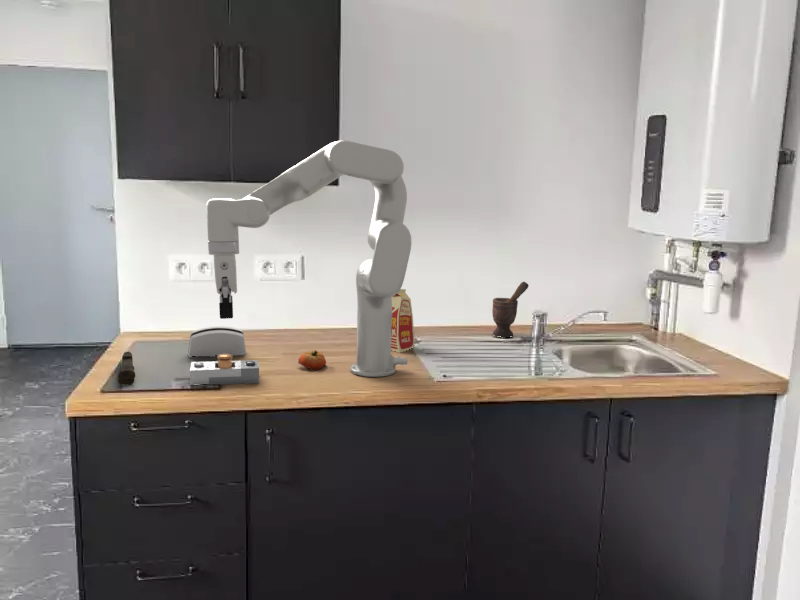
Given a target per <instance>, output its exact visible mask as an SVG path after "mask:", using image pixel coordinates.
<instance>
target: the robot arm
mask: <svg viewBox="0 0 800 600" xmlns="http://www.w3.org/2000/svg"><path fill="white" fill-rule="evenodd" d="M404 168H405V165H404V162H403V159H402V157H401V156H400V155H399V154H398V153H397V152H396V151H393V150H391V149H386V148H382V147H376V146H372V145H368V144H363V143H359V142H355V141H350V140H337V141H333V142H330V143H329V144H327V145H325V146H323V147H322V148H320V149H319V150H317V151H316V152H314V153H312V154H311V155H310V156H308V157H307V158H305V159H303V160H301V161H300V162H298V163H297V164H296V165H295V164H294V165H293V166H292V167H290V168H288V169H287V170H285V171H284V172H282V173H281V174H280V175H278V176H277V177H275V178H274V179H272V180H270V181H269V182H267V183H266V184H264V185H262V186H261V187H259V188H257V189H256V190H254V191H253V192H251V193H249V194H248V195H246V196H245V197H243V198H242V199H233V198H211V199H209V200H208V201H207V202H206V220H207V221H206V223H207V245H208V247H207V248H208V249H207V250H208V255H211V256H213V265H214V266H213V269H214V278H215V279H214V280H215V281H214V282H215V286H216V293H217V294H218V295H219V303H218V305H219V306H218V307H219V319H223V320H225V319H233V318H234V305H233V304H234V302H233V295H232V293H234V294H236V293H238V288H237V287H238V285H237V283H238V282H237V281H238V279H237V276H238V275H237V258H236V255H239V254H240V243H239V242H240V241H239V227H241V228H242V227H243V228H251V229H258V228H261V227H264V226H265V225H266V224H267V223H268V222H269V220H270V217H271V215H273V214H274V213H276V212H278V211H279V210H280V209H283V208H285V207H286V206H289V205H291V204H293V203H296V202H300V201H302V200H303V201H304V200H306V199H307V198H309V197H311V196H312V195H314V194H316V193H317V192H318V191H320V190H322V189H323V188H325V187H326V186H328V185H329V184H331V183H332V182H335V180H338V179H339V178H340V177H341V176H348V177H352V178H356V179H362V180H365V181H366V180H367V181H369V182H370V183H371V185H372V186H373V190H374V195H375V196H374V197H375V198H374V203H373V204H374V205H373V210H372V215H371V219H370V220H371V221H370V225H369V229H368V233H367V243H368V245H369V247H370V248H371V250H373V256H372V257H370V258H367V259H365V260H364V261H362V262H361V263H360V265H359V266H358V268H357V270H356V274H355V275H356V276H355V285H356V286H355V287H356V294H357V297H356V298H357V316H356V317H357V318H356V358H355V359H356V360H355V361H356V362H355V363H353V364H352V365H351V366H350V372H351V373H352V374H354V375H357V376H361V377H368V378H369V377H370V378H371V377H373V378H374V377H375V378H377V377H379V378H380V377H388V376H392V375H393V374H395V373H396V371H397V365H401V366H405V365H408V362H409V361H408V358H407V357H401V356H393V355H392V351H391V328H392V297H393V296H394V295H396V294H397V293H398V292H399V290H400V289H402V286H403V284H404V281H405V278H406V272H407V270H408V269H407V267H408V264H409V259H410V254H411V250H412V236H411V235H412V234H411V232H410V230H409V228H408V226H406V225H405V224H404V221H405V220H404V219H405V213H406V207H407V201H408V195H407V193H408V192H407V191H408V190H407V187H406V184H405V181H404V178H403V177H402V175H403V174H404Z"/></svg>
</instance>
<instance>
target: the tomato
mask: <svg viewBox="0 0 800 600" xmlns="http://www.w3.org/2000/svg"><path fill="white" fill-rule="evenodd" d="M297 364H300V365H301V366H302V367H305V368H307V369H308V368H309V369H310V370H311V371H317V370H320V369H321V368H322V367H326V364H327V361H326V357H325V356H324V354H323V353H322V352H319V351H318V350H315V349H314V350H311V351H305V352H303V353H302V354H301V355H300V357H299V358H298V362H297Z"/></svg>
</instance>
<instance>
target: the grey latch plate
mask: <svg viewBox="0 0 800 600" xmlns="http://www.w3.org/2000/svg"><path fill="white" fill-rule="evenodd" d="M189 376H190V377H189V378H190V379H189V380H190V381H189V383H190V384H189V385H194V384H220V385H219V386H221V385H222V386H223V385H241V384H245V385H247V384H259V383H260V366H259V360H258V359H251V360H249V359H248V360H247V359H246V360H232V367H230V368H218V360H216V361H191V363H190V368H189Z"/></svg>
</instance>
